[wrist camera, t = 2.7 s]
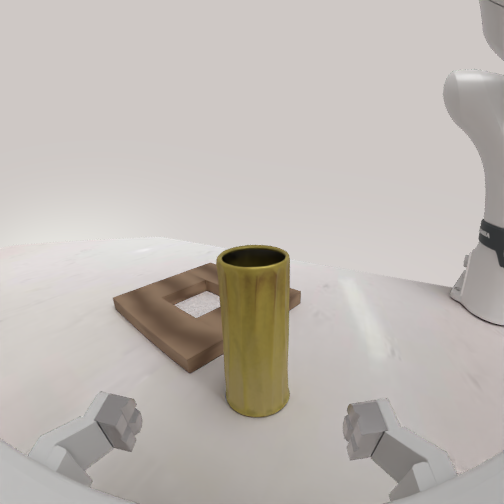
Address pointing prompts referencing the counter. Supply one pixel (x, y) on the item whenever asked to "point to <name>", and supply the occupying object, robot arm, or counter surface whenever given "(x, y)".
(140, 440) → the counter surface
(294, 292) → the socket
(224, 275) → the vase
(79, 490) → the robot arm
